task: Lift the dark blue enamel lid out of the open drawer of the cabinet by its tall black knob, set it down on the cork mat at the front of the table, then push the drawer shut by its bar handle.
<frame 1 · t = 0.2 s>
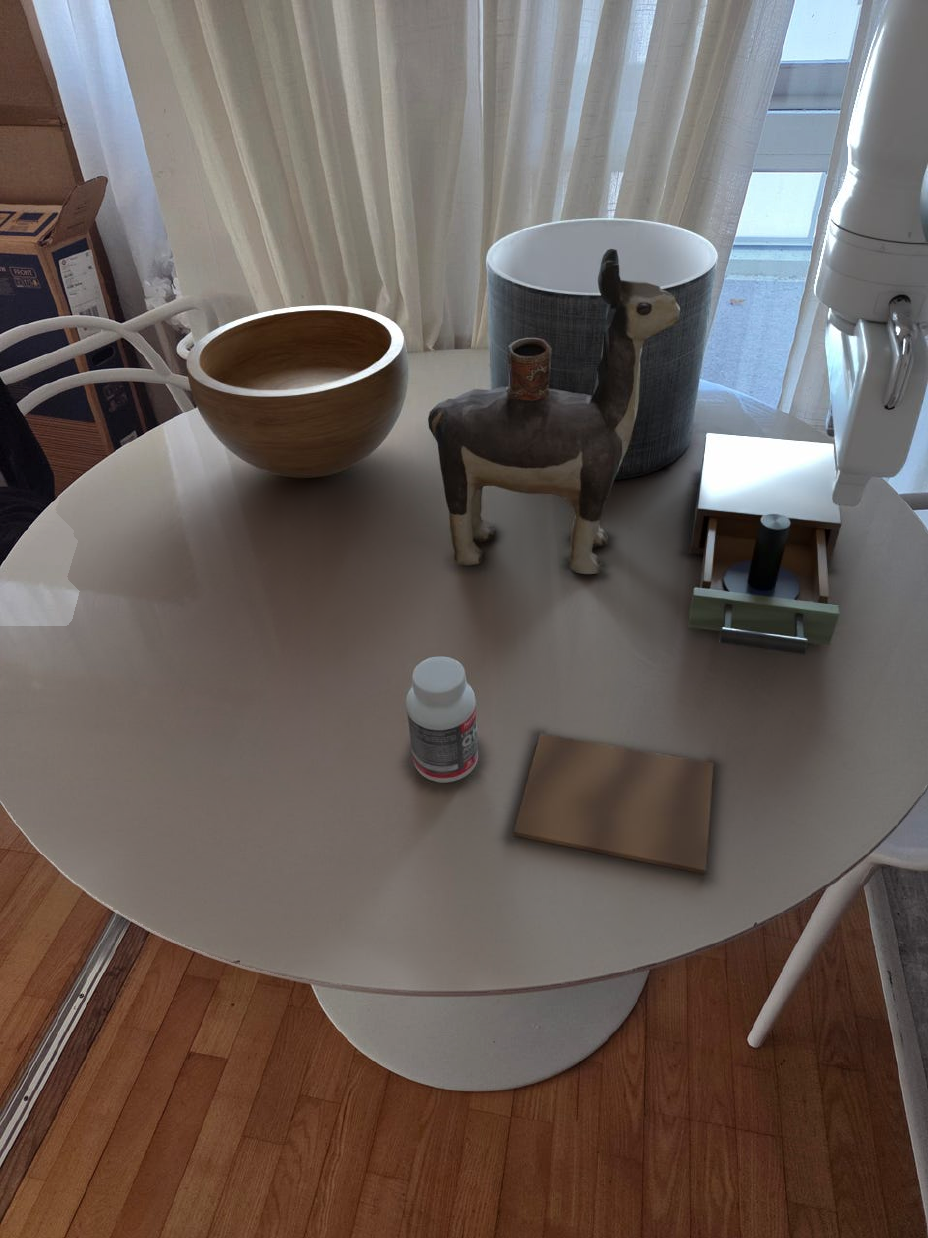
hand: (840, 464, 62), 21 cm above the table, tool pointing down, fingers open, 8 cm apart
cabinet: (759, 519, 93), on the table
drawer: (761, 587, 80), point 3 cm above the table, slide at 11.5 cm, touching lid
lid: (760, 586, 82), point 2 cm above the table, touching drawer
pill bottle: (446, 760, 70), on the table
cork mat: (616, 800, 66), on the table
planter: (590, 432, 110), on the table
figurine: (542, 549, 91), on the table
bowl: (317, 464, 107), on the table
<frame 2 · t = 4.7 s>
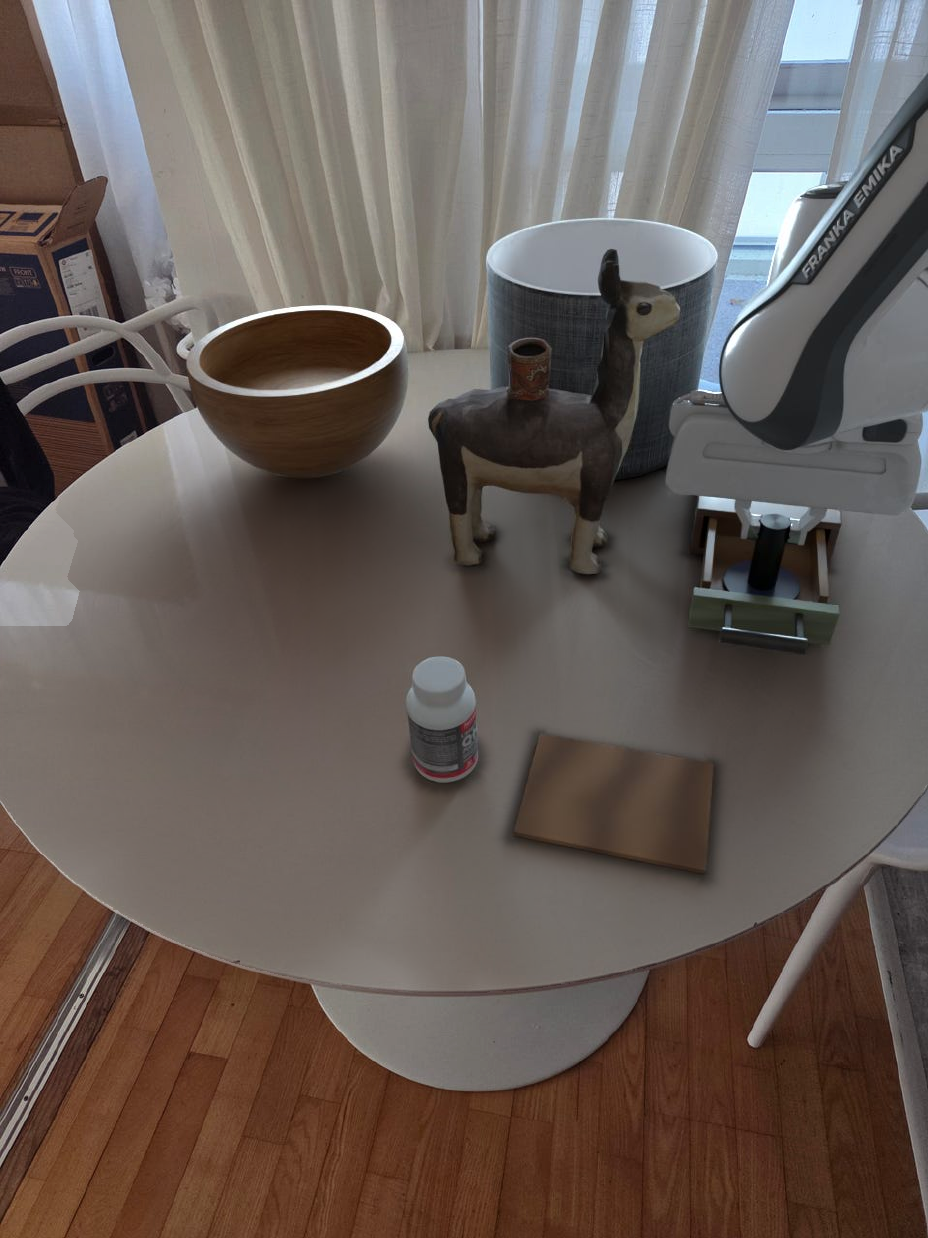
hand: (771, 538, 78), 8 cm above the table, tool pointing down, fingers closed on lid, 2 cm apart
lid: (760, 586, 82), point 2 cm above the table, touching drawer, gripper
everything else where it was.
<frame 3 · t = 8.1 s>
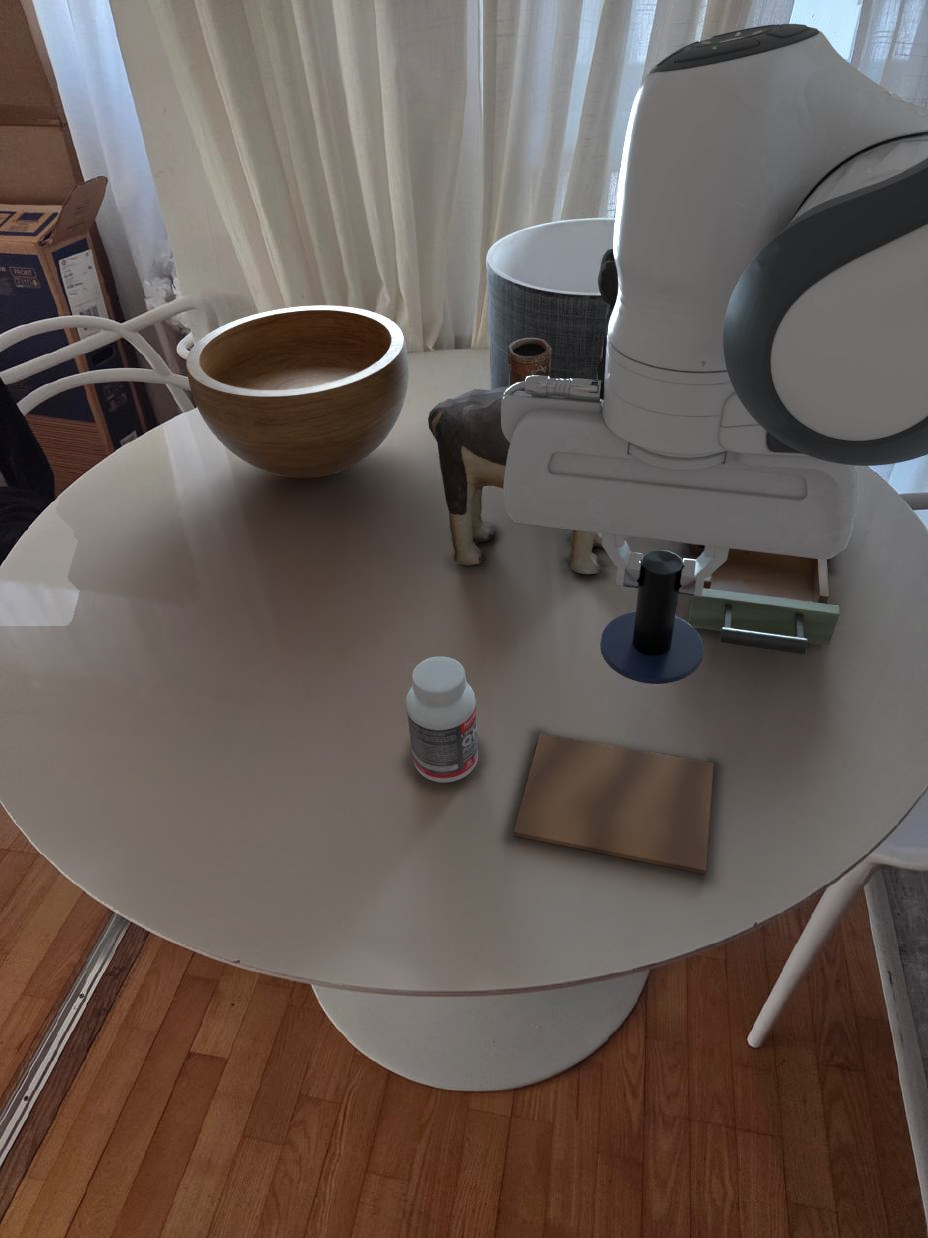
hand: (659, 585, 56), 19 cm above the table, tool pointing down, fingers closed on lid, 2 cm apart
drawer: (761, 587, 80), point 3 cm above the table, slide at 11.5 cm
lid: (650, 648, 59), point 14 cm above the table, touching gripper
everything else where it was.
when the fingers open (6 cm above the table, at t = 11.6 s): lid stays where it is, resting on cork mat.
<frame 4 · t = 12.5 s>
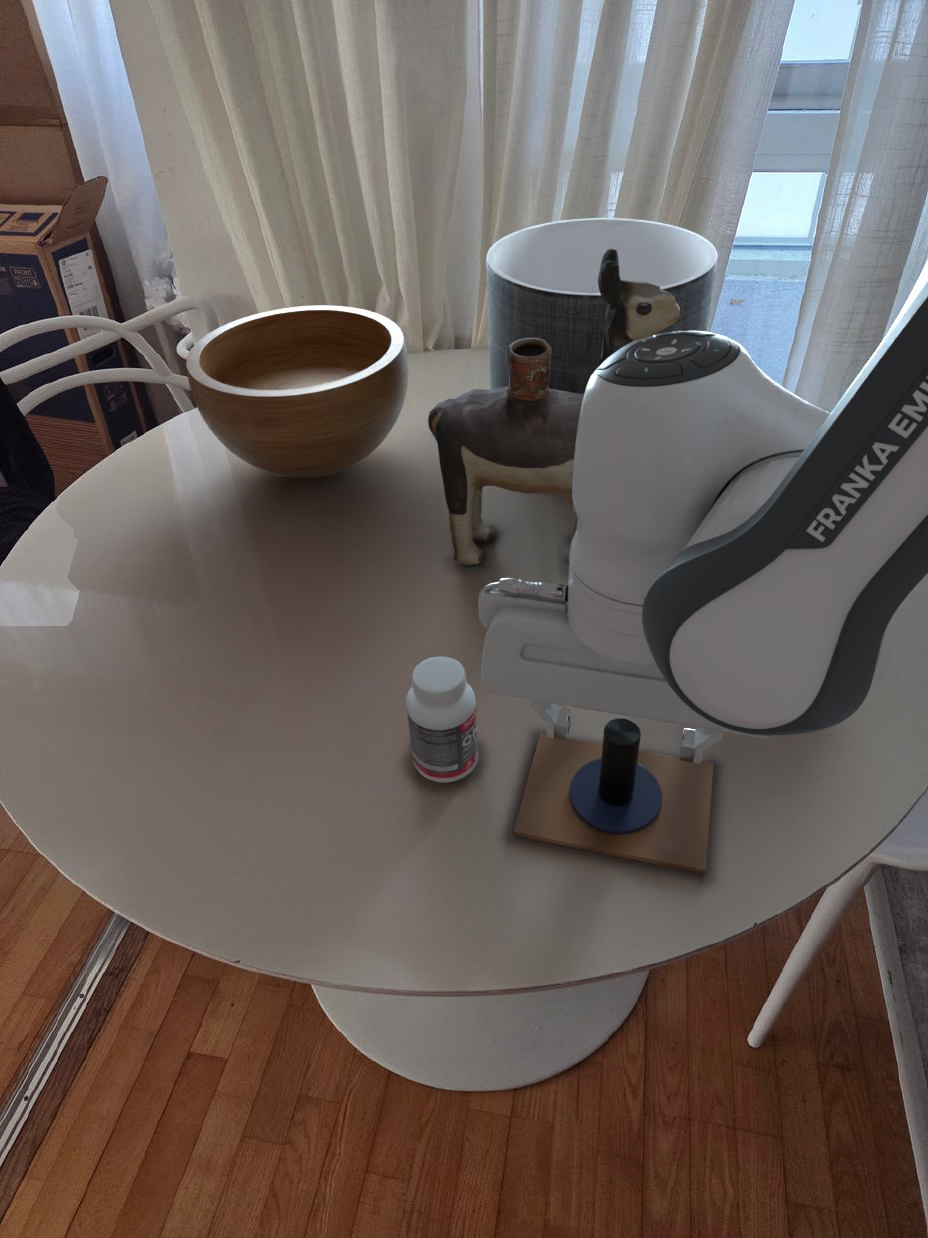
hand: (623, 744, 62), 7 cm above the table, tool pointing down, fingers open, 8 cm apart
lid: (615, 796, 66), resting on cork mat
everything else where it was.
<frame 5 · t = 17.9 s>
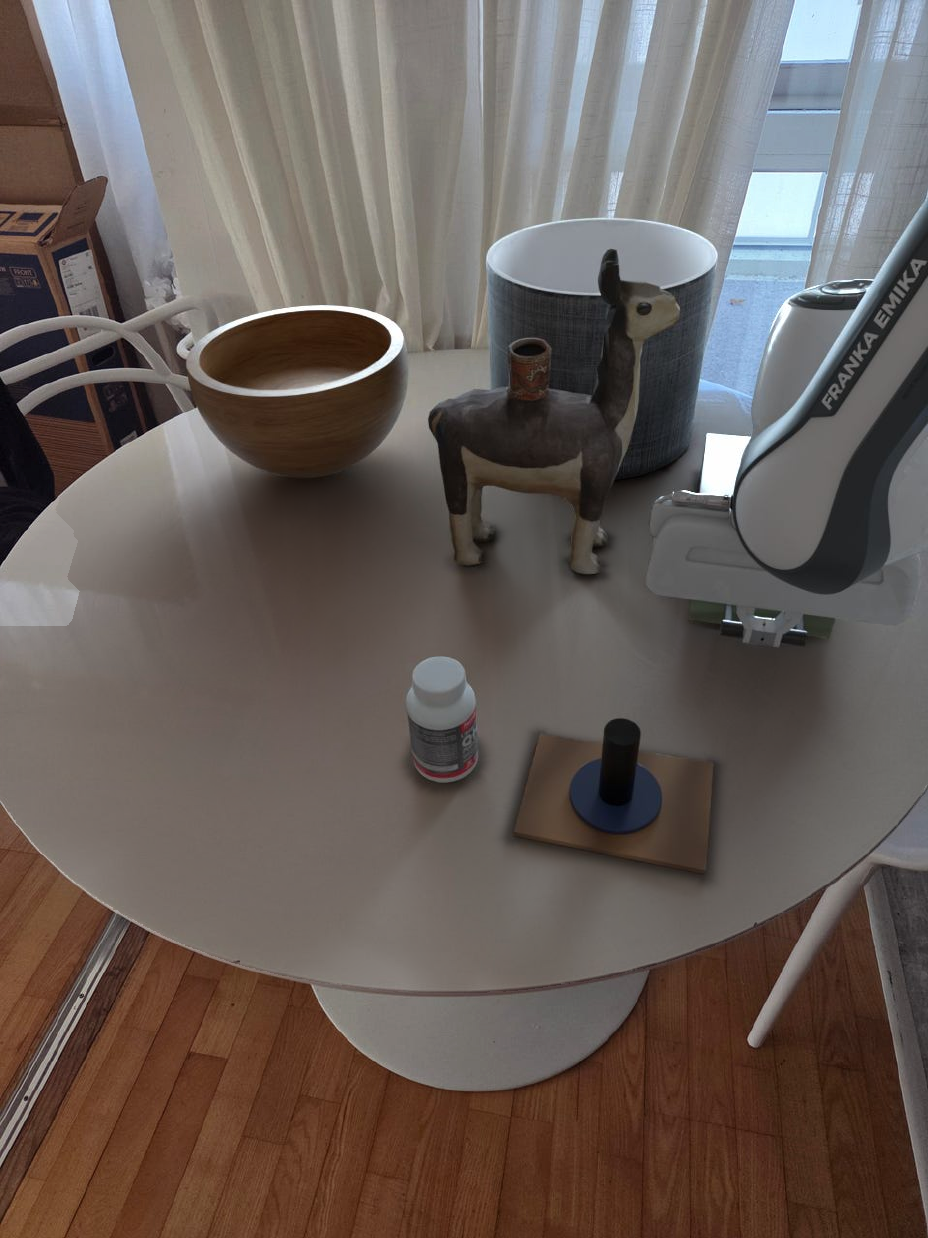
hand: (760, 640, 73), 4 cm above the table, tool pointing down, fingers closed, pressing on drawer
drawer: (762, 580, 81), point 3 cm above the table, slide at 10.5 cm, touching gripper
everything else where it was.
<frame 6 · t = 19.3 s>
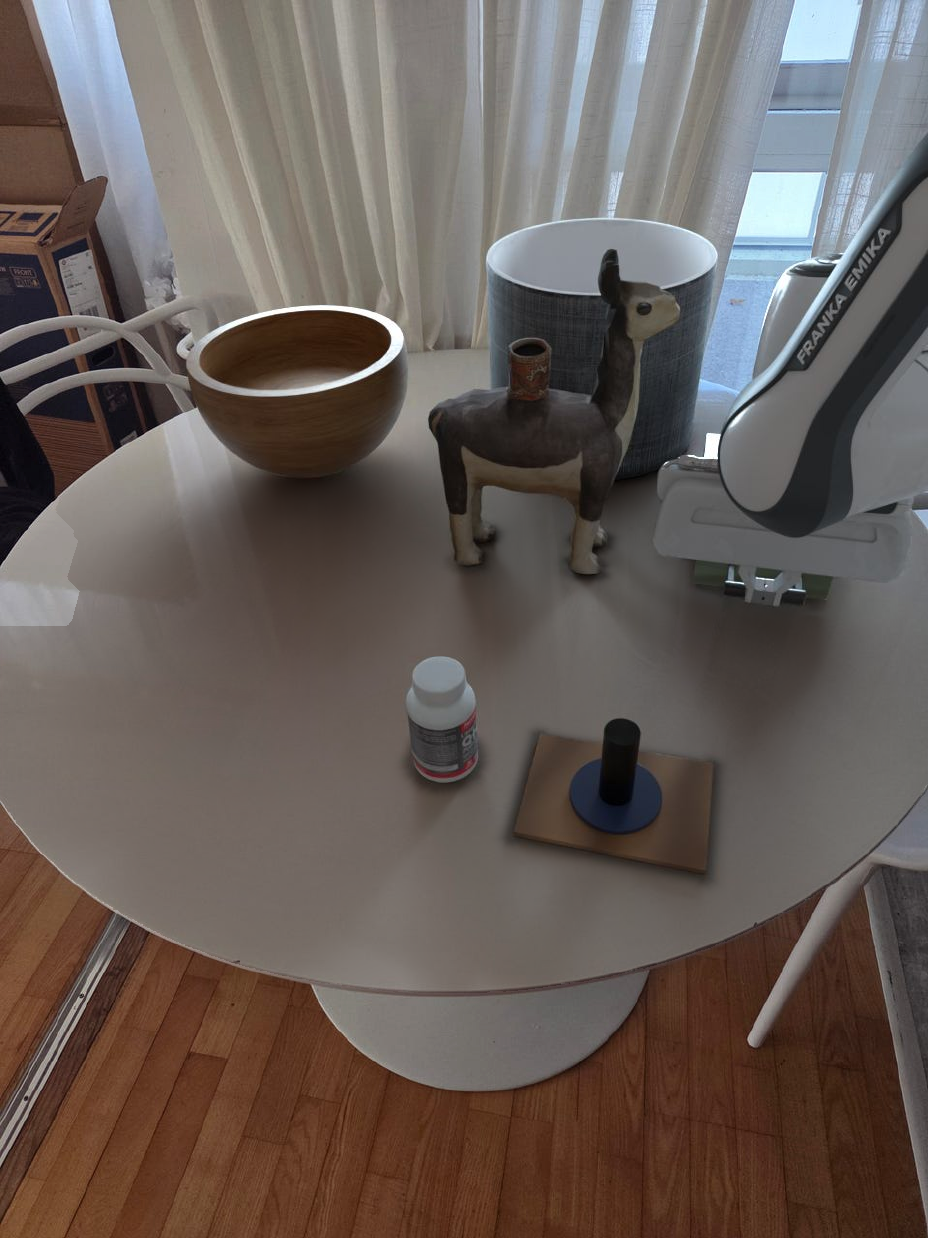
hand: (761, 600, 77), 4 cm above the table, tool pointing down, fingers closed, pressing on drawer
drawer: (762, 546, 85), point 3 cm above the table, slide at 4.9 cm, touching gripper
everything else where it was.
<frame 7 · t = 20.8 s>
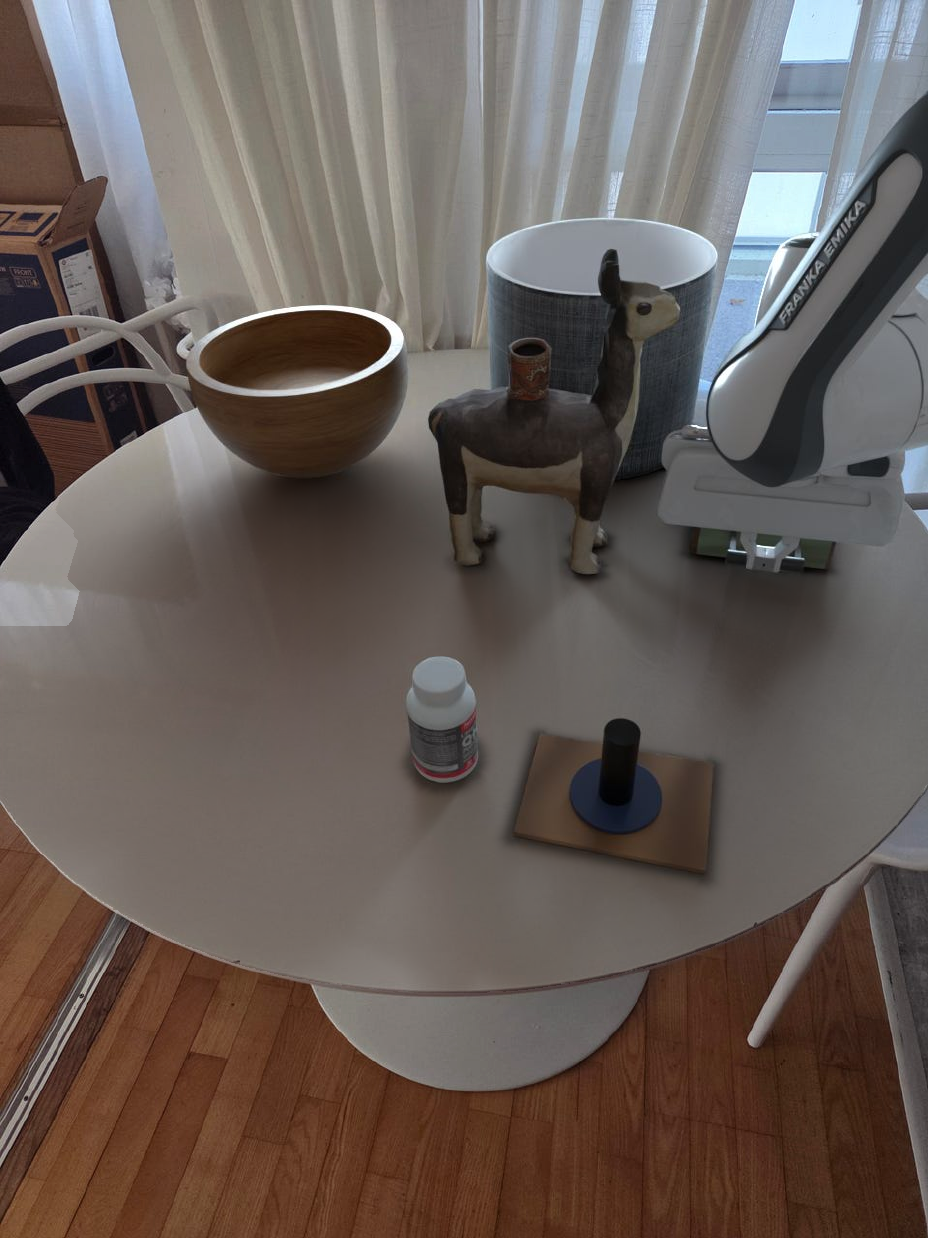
hand: (761, 567, 80), 4 cm above the table, tool pointing down, fingers closed, pressing on drawer
drawer: (763, 518, 89), point 3 cm above the table, slide at 0.0 cm, touching cabinet, gripper
everything else where it was.
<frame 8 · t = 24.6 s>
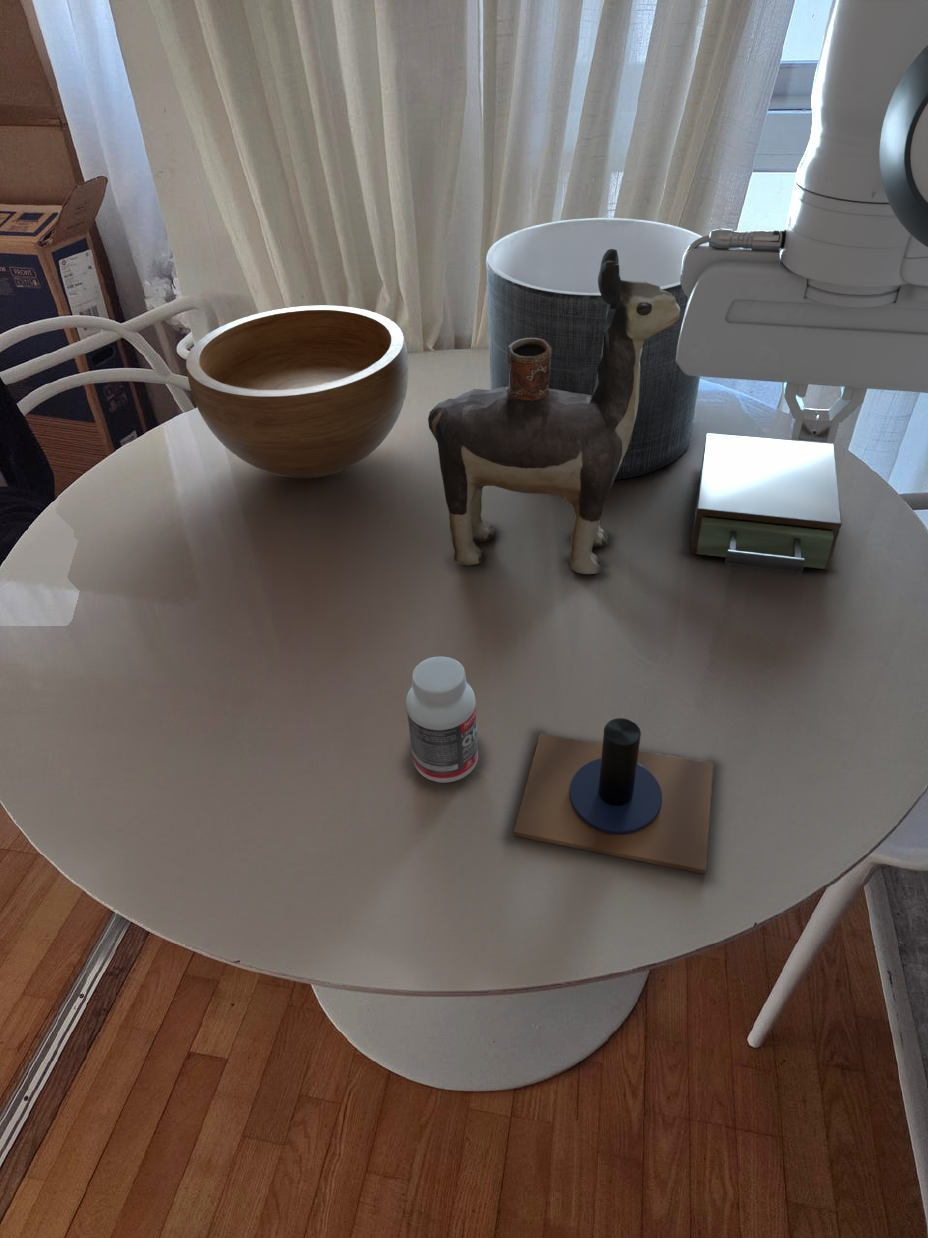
hand: (811, 437, 61), 23 cm above the table, tool pointing down, fingers closed
drawer: (763, 518, 89), point 3 cm above the table, slide at 0.0 cm
everything else where it was.
at the end: lid inside the target area on the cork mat (0.1 cm from its centre), point 0.5 cm above the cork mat's base; lid tilted 0°; drawer slide at 0.0 cm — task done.
